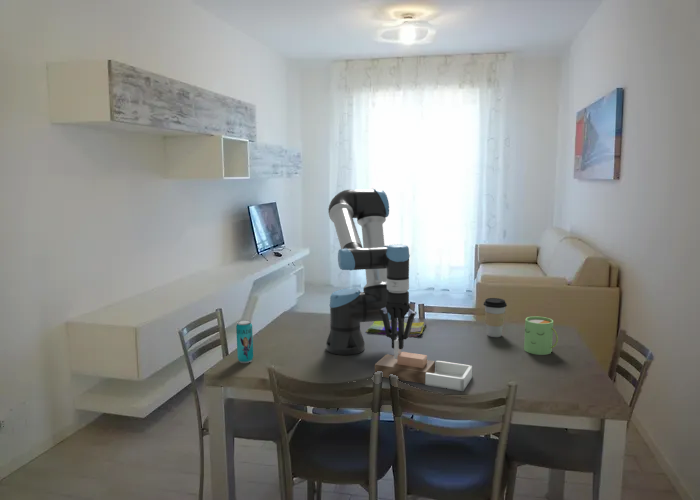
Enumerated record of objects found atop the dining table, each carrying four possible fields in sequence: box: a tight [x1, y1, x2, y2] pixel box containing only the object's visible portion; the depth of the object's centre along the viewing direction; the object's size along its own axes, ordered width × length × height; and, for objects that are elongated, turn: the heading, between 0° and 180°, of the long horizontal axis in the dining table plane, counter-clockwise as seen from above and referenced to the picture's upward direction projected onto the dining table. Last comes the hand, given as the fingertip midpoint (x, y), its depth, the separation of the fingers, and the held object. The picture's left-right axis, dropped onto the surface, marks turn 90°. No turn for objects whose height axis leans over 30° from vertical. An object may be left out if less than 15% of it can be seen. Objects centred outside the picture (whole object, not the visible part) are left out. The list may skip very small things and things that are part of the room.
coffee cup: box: [483, 297, 508, 338], centre depth 230 cm, size 9×9×15 cm
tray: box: [424, 360, 474, 392], centre depth 183 cm, size 12×13×4 cm
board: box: [374, 353, 436, 385], centre depth 190 cm, size 18×11×4 cm, turn 65°
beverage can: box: [235, 319, 254, 364], centre depth 203 cm, size 6×6×15 cm
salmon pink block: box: [397, 351, 415, 366], centre depth 189 cm, size 4×4×3 cm
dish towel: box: [365, 320, 427, 338], centre depth 241 cm, size 18×24×3 cm
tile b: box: [410, 352, 428, 368], centre depth 187 cm, size 4×4×3 cm
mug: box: [523, 315, 559, 356], centre depth 211 cm, size 13×10×12 cm
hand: (397, 357), depth 190 cm, fingers closed
